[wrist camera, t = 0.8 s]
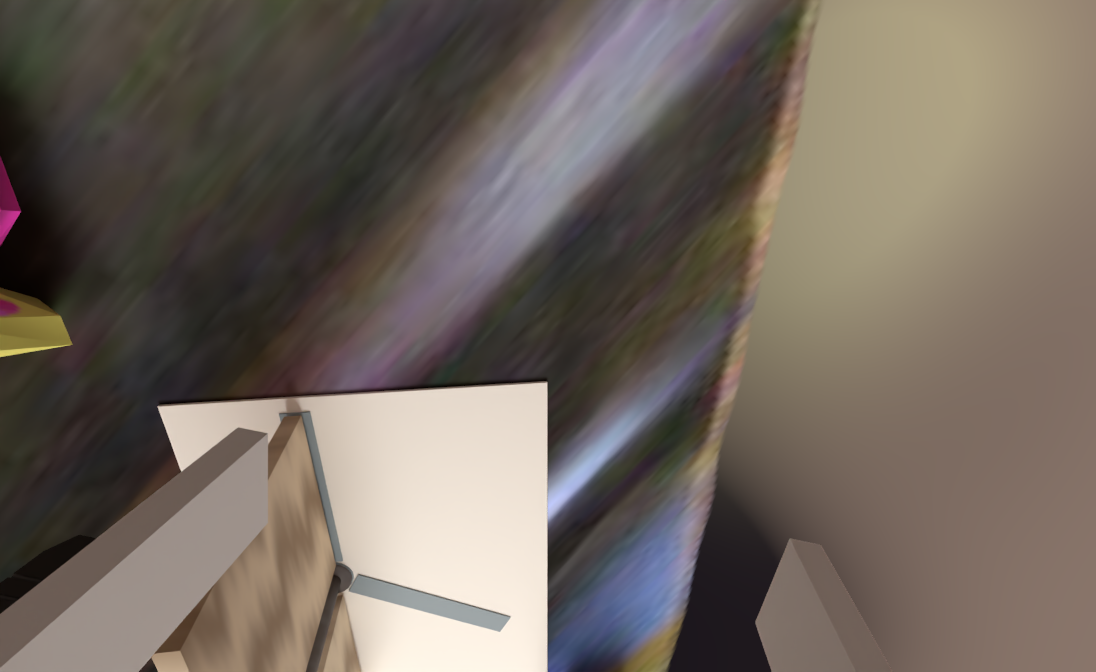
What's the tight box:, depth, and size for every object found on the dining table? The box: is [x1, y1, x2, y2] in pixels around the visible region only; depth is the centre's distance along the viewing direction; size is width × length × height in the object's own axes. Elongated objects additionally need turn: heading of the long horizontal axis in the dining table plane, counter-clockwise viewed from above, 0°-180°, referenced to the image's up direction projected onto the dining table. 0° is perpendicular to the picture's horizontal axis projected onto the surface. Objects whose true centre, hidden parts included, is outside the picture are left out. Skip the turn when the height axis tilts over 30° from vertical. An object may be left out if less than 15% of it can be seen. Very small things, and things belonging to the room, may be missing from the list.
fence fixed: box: [151, 416, 352, 672], centre depth 29 cm, size 15×3×17 cm, turn 0°
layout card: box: [158, 381, 547, 672], centre depth 40 cm, size 32×23×1 cm
